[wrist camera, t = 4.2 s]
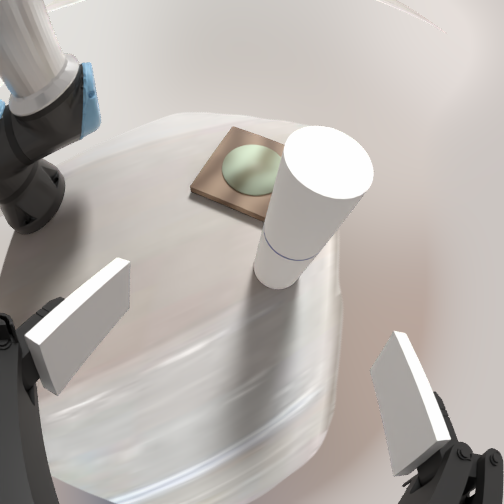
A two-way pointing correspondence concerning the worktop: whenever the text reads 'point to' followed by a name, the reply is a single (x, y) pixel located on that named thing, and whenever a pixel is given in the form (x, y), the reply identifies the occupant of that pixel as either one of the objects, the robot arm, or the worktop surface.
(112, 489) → the worktop surface
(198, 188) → the board
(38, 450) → the robot arm
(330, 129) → the cylindrical container
